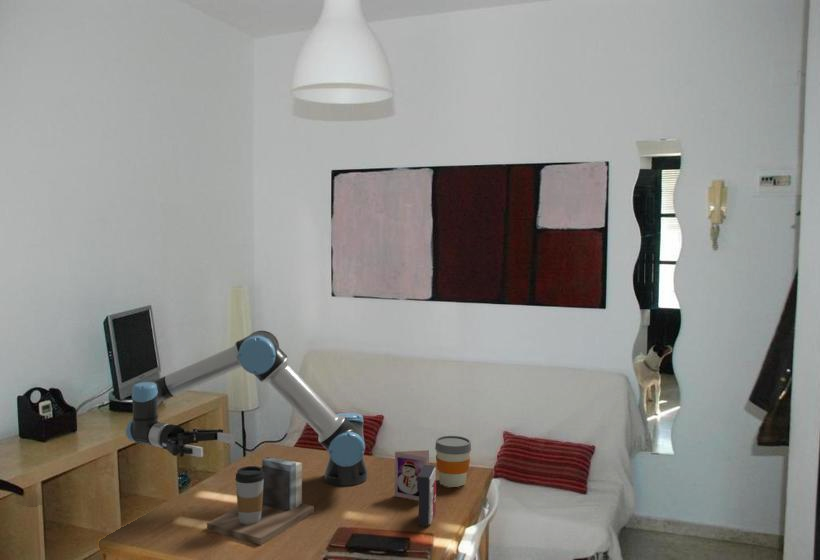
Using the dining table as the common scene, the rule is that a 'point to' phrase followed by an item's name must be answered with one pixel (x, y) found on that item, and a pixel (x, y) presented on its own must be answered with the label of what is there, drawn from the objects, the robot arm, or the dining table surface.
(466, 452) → the reusable coffee cup
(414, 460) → the greeting card
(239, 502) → the coffee cup
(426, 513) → the dark grey box
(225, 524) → the block on wooden base
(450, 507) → the dining table surface
